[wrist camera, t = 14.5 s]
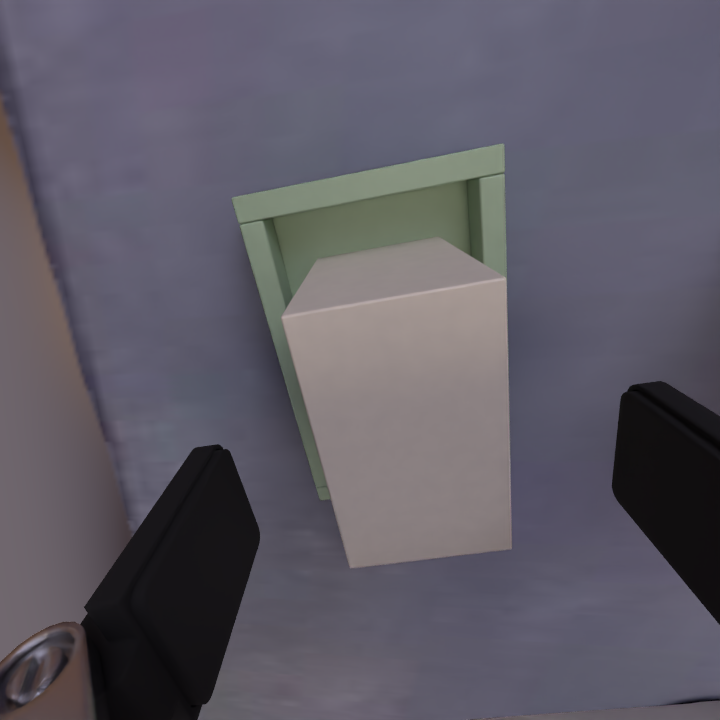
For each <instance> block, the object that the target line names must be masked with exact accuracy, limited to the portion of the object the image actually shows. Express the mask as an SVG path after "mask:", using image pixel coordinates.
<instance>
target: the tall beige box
mask: <svg viewBox="0 0 720 720" xmlns="http://www.w3.org/2000/svg"><path fill="white" fill-rule="evenodd" d="M281 321H282V325H283V328H284V332H285V336H286V339H287V343H288V347H289V350H290V354H291V357H292V361H293V365H294V368H295V372H296V376H297V379H298V383H299V386H300V390H301V394H302V397H303V401H304V404H305V408H306V412H307V415H308V419H309V423H310V426H311V430H312V433H313V437H314V441H315V444H316V448H317V452H318V455H319V459H320V462H321V466H322V470H323V473H324V477H325V480H326V484H327V488H328V491H329V495H330V499H331V502H332V506H333V509H334V513H335V517H336V520H337V524H338V527H339V531H340V535H341V538H342V542H343V546H344V549H345V553H346V556H347V560H348V564H349V567H350V568H360V567H368V566H376V565H385V564H393V563H401V562H410V561H418V560H426V559H435V558H443V557H451V556H460V555H468V554H476V553H485V552H493V551H501V550H509V549H512V525H511V476H510V428H509V380H508V331H507V283H506V278H505V277H504V276H502V275H501V274H499V273H497V272H496V271H494V270H492V269H491V268H489V267H488V266H486V265H484V264H483V263H481V262H479V261H478V260H476V259H474V258H473V257H471V256H470V255H468V254H466V253H465V252H463V251H461V250H460V249H458V248H456V247H455V246H453V245H452V244H450V243H448V242H447V241H445V240H443V239H442V238H440V237H438V236H437V237H432V238H426V239H421V240H415V241H410V242H404V243H399V244H393V245H388V246H383V247H377V248H372V249H366V250H361V251H355V252H350V253H344V254H339V255H334V256H328V257H323V258H318V259H317V260H316V262H315V263H314V265H313V267H312V268H311V270H310V271H309V273H308V274H307V276H306V278H305V279H304V281H303V282H302V284H301V286H300V287H299V289H298V290H297V292H296V293H295V295H294V297H293V298H292V300H291V301H290V303H289V305H288V306H287V308H286V309H285V311H284V312H283V314H282V316H281Z"/></svg>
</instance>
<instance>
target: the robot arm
mask: <svg viewBox="0 0 720 720" xmlns="http://www.w3.org/2000/svg"><path fill="white" fill-rule="evenodd" d="M612 489H613V493H614V495H615V497H616V499H617V501H618V502H619V503H620V505H621V506H622V507H623V508H624V509H625V511H626V512H627V513H628V514H629V515H630V517H631V518H632V519H633V520H634V522H635V523H636V524H637V525H638V526H639V528H640V529H641V530H642V531H643V532H644V534H645V535H646V536H647V537H648V538H649V540H650V541H651V542H652V543H653V545H654V546H655V547H656V548H657V549H658V551H659V552H660V553H661V554H662V555H663V557H664V558H665V559H666V560H667V561H668V563H669V564H670V565H671V566H672V568H673V569H674V570H675V571H676V572H677V574H678V575H679V576H680V577H681V578H682V580H683V581H684V582H685V583H686V584H687V586H688V587H689V588H690V589H691V591H692V592H693V593H694V594H695V595H696V597H697V598H698V599H699V600H700V601H701V603H702V604H703V605H704V606H705V607H706V609H707V610H708V611H709V612H710V614H711V615H712V616H713V617H714V618H715V620H716V621H717V622H718V623H719V624H720V416H718V415H717V414H715V413H714V412H712V411H710V410H709V409H707V408H705V407H704V406H702V405H701V404H699V403H697V402H696V401H694V400H693V399H691V398H689V397H688V396H686V395H685V394H683V393H681V392H680V391H678V390H676V389H675V388H673V387H672V386H670V385H668V384H667V383H665V382H662V381H657V382H650V383H643V384H636V385H632V386H630V387H629V389H628V391H627V392H625V393H623V395H622V396H621V401H620V411H619V421H618V430H617V440H616V450H615V460H614V469H613V479H612ZM259 541H260V531H259V527H258V524H257V522H256V519H255V517H254V514H253V511H252V509H251V506H250V503H249V501H248V498H247V495H246V493H245V490H244V487H243V485H242V482H241V480H240V477H239V474H238V472H237V469H236V466H235V464H234V461H233V458H232V456H231V453H230V451H229V450H227V449H224V450H223V448H222V447H221V446H220V445H218V444H217V445H210V446H203V447H197V448H194V449H193V450H192V452H191V453H190V454H189V456H188V457H187V459H186V460H185V462H184V463H183V465H182V466H181V467H180V469H179V470H178V472H177V473H176V475H175V476H174V478H173V479H172V481H171V482H170V483H169V485H168V486H167V488H166V489H165V491H164V492H163V494H162V495H161V496H160V498H159V499H158V501H157V502H156V504H155V505H154V507H153V508H152V510H151V511H150V512H149V514H148V515H147V517H146V518H145V520H144V521H143V523H142V524H141V525H140V527H139V528H138V530H137V531H136V533H135V534H134V536H133V537H132V539H131V540H130V542H129V543H128V544H127V546H126V547H125V549H124V550H123V552H122V553H121V554H120V556H119V557H118V559H117V560H116V562H115V563H114V565H113V566H112V568H111V569H110V570H109V572H108V573H107V575H106V576H105V578H104V579H103V581H102V582H101V584H100V585H99V586H98V588H97V589H96V591H95V592H94V594H93V595H92V597H91V598H90V599H89V601H88V603H87V604H86V605H85V607H84V608H85V609H86V611H87V612H88V614H87V615H86V617H85V618H84V620H83V621H82V623H81V624H78V623H76V622H62V623H58V624H55V625H52V626H49V627H47V628H45V629H43V630H41V631H40V632H38V633H36V634H34V635H32V636H31V637H30V638H28V639H27V640H25V641H24V642H23V643H21V644H20V645H18V646H17V647H16V648H15V649H14V650H13V651H12V652H11V653H10V654H9V655H7V656H6V657H5V658H4V659H3V660H2V661H1V662H0V720H197V719H198V716H199V713H200V710H201V707H202V704H206V703H207V702H208V701H209V700H210V698H211V696H212V693H213V690H214V687H215V684H216V681H217V677H218V674H219V671H220V668H221V665H222V661H223V658H224V655H225V652H226V649H227V645H228V642H229V639H230V636H231V632H232V629H233V626H234V623H235V620H236V616H237V613H238V610H239V607H240V604H241V600H242V597H243V594H244V591H245V587H246V584H247V581H248V578H249V575H250V571H251V568H252V565H253V562H254V558H255V555H256V552H257V549H258V546H259ZM471 720H720V701H705V702H697V703H691V704H678V705H663V706H649V707H634V708H620V709H605V710H592V711H578V712H565V713H551V714H538V715H524V716H511V717H497V718H484V719H471Z"/></svg>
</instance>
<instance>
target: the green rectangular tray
mask: <svg viewBox="0 0 720 720" xmlns="http://www.w3.org/2000/svg"><path fill="white" fill-rule="evenodd" d="M504 172H505V152H504V144H497V145H492V146H487V147H482V148H477V149H472V150H467V151H462V152H457V153H452V154H447V155H442V156H437V157H432V158H427V159H422V160H417V161H412V162H407V163H402V164H397V165H392V166H387V167H382V168H377V169H372V170H367V171H362V172H357V173H352V174H347V175H342V176H337V177H332V178H327V179H322V180H317V181H312V182H307V183H302V184H297V185H292V186H287V187H282V188H277V189H272V190H267V191H262V192H257V193H252V194H247V195H242V196H237V197H233V198H232V203H233V207H234V210H235V213H236V217H237V220H238V223H239V224H241V225H240V230H241V233H242V237H243V240H244V243H245V247H246V250H247V254H248V257H249V261H250V264H251V267H252V271H253V274H254V278H255V281H256V285H257V288H258V291H259V295H260V298H261V302H262V305H263V308H264V312H265V315H266V319H267V322H268V326H269V329H270V332H271V336H272V339H273V343H274V346H275V349H276V353H277V356H278V360H279V363H280V367H281V370H282V373H283V377H284V380H285V384H286V387H287V391H288V394H289V397H290V401H291V404H292V408H293V411H294V414H295V418H296V421H297V425H298V428H299V432H300V435H301V438H302V442H303V445H304V449H305V452H306V455H307V459H308V462H309V466H310V469H311V473H312V476H313V479H314V483H315V486H316V489H317V493H318V496H319V499H320V500H321V501H322V500H329V499H330V495H329V491H328V488H327V484H326V480H325V477H324V473H323V470H322V466H321V462H320V459H319V455H318V452H317V448H316V444H315V441H314V437H313V433H312V430H311V426H310V423H309V419H308V415H307V412H306V408H305V404H304V401H303V397H302V394H301V390H300V386H299V383H298V379H297V376H296V372H295V368H294V365H293V361H292V357H291V354H290V350H289V347H288V343H287V339H286V336H285V332H284V328H283V325H282V321H281V316H282V314H283V312H284V311H285V309H286V308H287V306H288V305H289V303H290V301H291V300H292V298H293V297H294V295H295V293H296V292H297V290H298V289H299V287H300V286H301V284H302V282H303V281H304V279H305V278H306V276H307V274H308V273H309V271H310V270H311V268H312V267H313V265H314V263H315V262H316V260H317V259H318V258H323V257H328V256H334V255H339V254H344V253H350V252H355V251H361V250H366V249H372V248H377V247H383V246H388V245H393V244H399V243H404V242H410V241H415V240H421V239H426V238H432V237H437V236H438V237H440V238H442V239H443V240H445V241H447V242H448V243H450V244H452V245H453V246H455V247H456V248H458V249H460V250H461V251H463V252H465V253H466V254H468V255H470V256H471V257H473V258H474V259H476V260H478V261H479V262H481V263H483V264H484V265H486V266H488V267H489V268H491V269H492V270H494V271H496V272H497V273H499V274H501V275H502V276H504V277H505V278H506V283H507V263H506V213H505V175H504V174H502V173H504ZM507 331H508V312H507ZM508 380H509V362H508ZM509 428H510V412H509ZM510 474H511V465H510Z"/></svg>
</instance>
